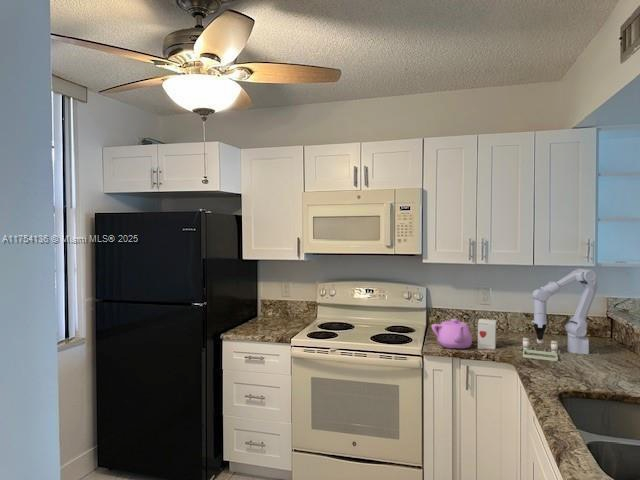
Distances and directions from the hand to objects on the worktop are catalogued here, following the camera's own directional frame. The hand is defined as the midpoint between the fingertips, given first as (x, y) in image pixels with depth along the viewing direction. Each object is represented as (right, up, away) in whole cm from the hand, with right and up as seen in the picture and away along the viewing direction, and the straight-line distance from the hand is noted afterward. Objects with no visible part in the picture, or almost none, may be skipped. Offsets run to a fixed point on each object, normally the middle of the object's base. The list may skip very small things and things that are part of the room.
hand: (540, 339), depth 223 cm
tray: (-5, -7, -9) cm, 12 cm away
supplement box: (-24, -7, +10) cm, 27 cm away
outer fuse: (-6, -6, +3) cm, 9 cm away
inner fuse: (+6, -6, -3) cm, 9 cm away
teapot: (-40, -7, +12) cm, 43 cm away
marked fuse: (0, -2, 0) cm, 2 cm away
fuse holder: (0, -7, 0) cm, 7 cm away
